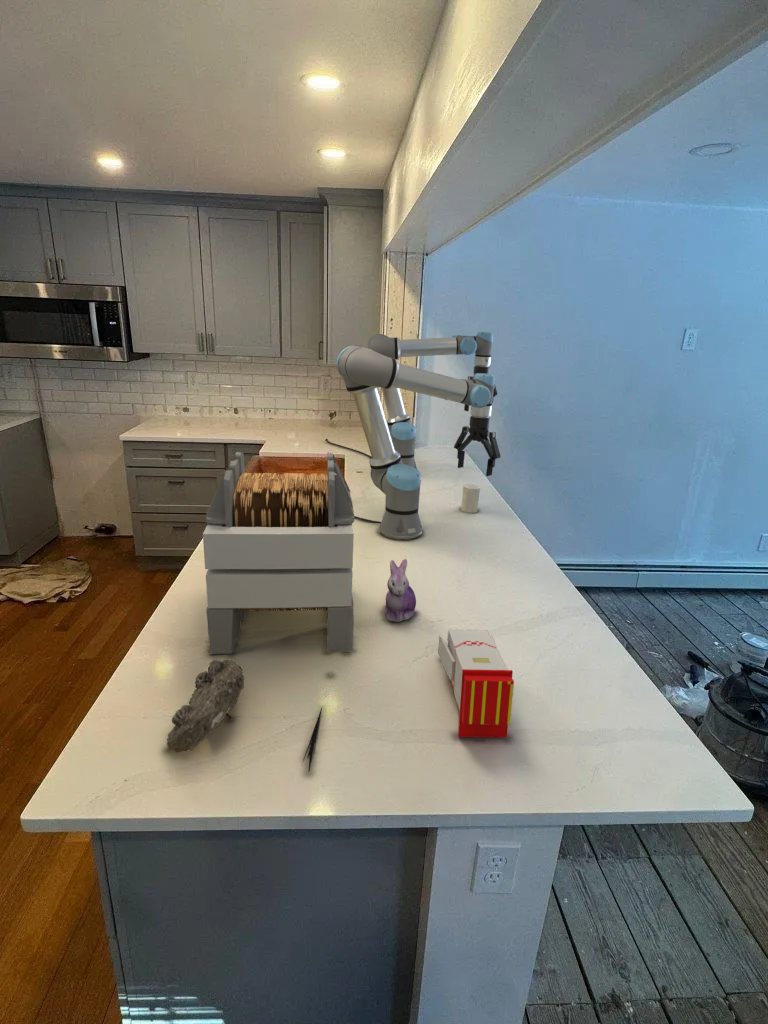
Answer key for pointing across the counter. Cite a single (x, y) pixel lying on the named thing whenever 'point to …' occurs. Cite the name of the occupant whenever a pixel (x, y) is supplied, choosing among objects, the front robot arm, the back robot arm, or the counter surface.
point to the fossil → (206, 705)
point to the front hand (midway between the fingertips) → (474, 471)
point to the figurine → (399, 594)
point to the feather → (313, 740)
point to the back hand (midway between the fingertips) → (477, 410)
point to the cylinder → (470, 498)
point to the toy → (478, 682)
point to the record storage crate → (279, 550)
